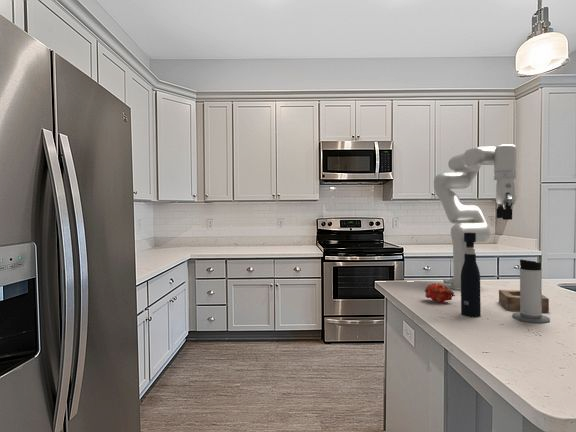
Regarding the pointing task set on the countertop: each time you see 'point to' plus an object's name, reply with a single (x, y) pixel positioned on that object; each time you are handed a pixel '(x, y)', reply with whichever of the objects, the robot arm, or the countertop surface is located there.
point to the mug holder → (517, 300)
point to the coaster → (542, 320)
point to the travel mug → (530, 289)
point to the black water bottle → (470, 280)
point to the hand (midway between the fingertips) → (504, 218)
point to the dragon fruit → (438, 293)
